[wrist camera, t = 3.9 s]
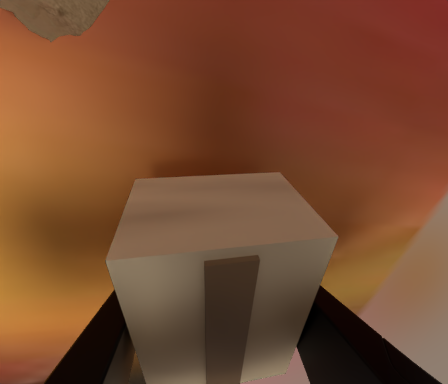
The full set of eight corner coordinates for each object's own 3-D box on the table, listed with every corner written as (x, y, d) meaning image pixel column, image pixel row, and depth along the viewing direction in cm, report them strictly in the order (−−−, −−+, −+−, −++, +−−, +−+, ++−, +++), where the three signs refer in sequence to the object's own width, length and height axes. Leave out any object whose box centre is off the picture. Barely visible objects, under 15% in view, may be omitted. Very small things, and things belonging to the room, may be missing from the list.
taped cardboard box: (258, 293, 12) (287, 377, 8) (159, 307, 11) (151, 406, 8) (279, 171, 8) (342, 241, 5) (135, 178, 7) (102, 267, 4)
